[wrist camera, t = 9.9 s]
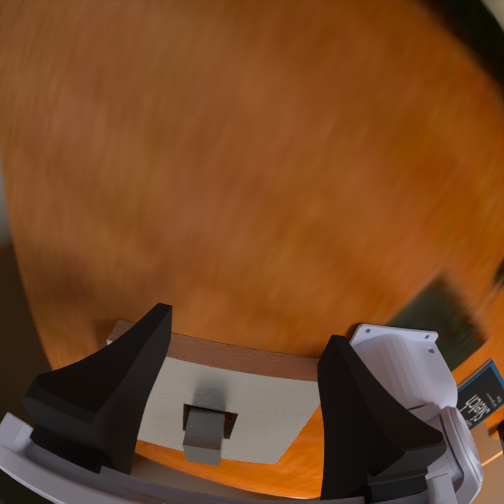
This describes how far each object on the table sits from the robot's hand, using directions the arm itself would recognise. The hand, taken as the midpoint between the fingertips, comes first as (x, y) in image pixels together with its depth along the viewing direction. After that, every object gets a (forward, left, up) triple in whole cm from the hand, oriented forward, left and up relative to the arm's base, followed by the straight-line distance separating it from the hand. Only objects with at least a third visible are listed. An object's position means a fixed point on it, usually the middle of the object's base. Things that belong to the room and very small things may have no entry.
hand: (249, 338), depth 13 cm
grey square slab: (+1, +20, -9) cm, 22 cm away
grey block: (+1, +20, -9) cm, 22 cm away
